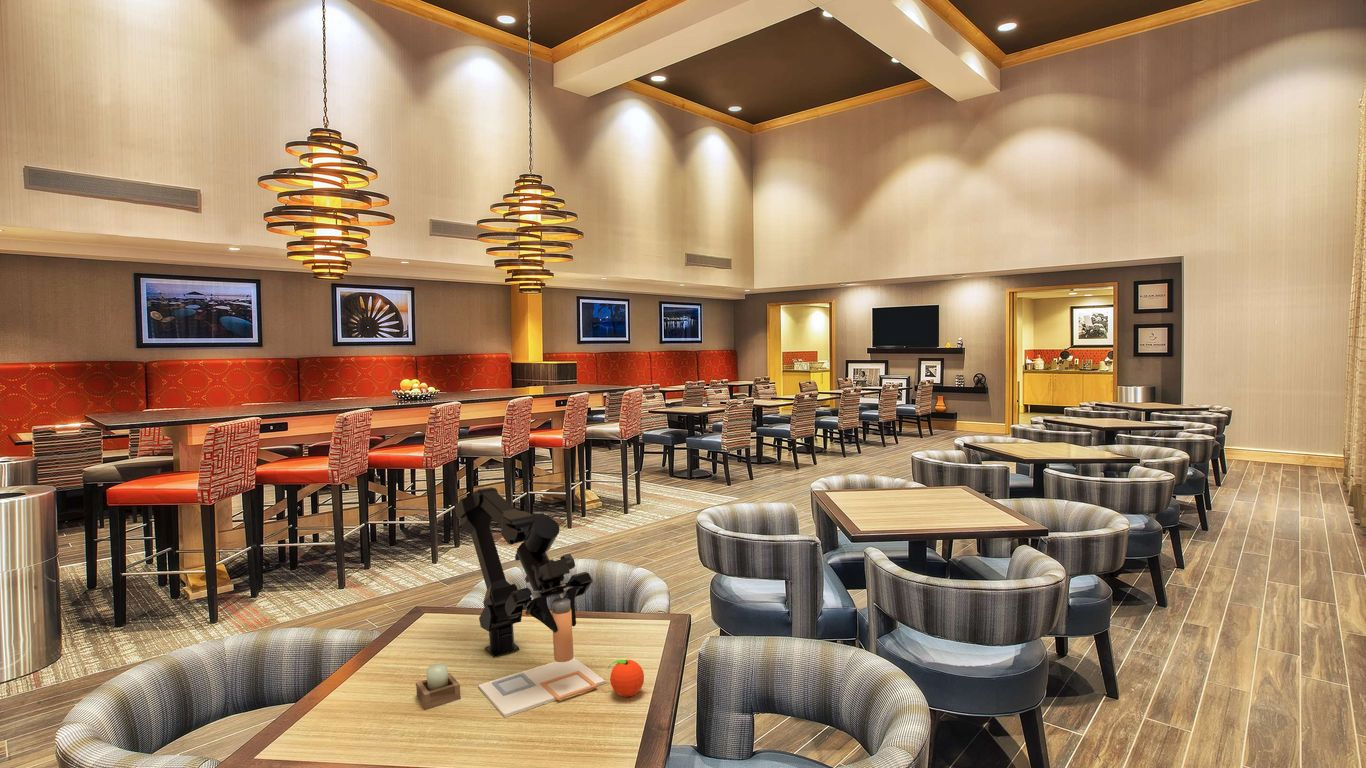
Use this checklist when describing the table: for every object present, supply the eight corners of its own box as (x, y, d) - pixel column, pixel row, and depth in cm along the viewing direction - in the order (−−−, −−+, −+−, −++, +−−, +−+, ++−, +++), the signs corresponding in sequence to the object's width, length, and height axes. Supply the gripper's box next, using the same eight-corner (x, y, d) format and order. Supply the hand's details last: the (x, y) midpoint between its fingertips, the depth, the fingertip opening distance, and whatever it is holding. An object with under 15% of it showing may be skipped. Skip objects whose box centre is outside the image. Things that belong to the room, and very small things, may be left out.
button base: (416, 696, 143) (416, 682, 143) (450, 686, 147) (450, 672, 147) (425, 709, 137) (424, 694, 137) (460, 698, 141) (459, 684, 141)
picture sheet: (478, 687, 145) (478, 683, 145) (572, 658, 158) (572, 654, 158) (507, 720, 131) (507, 716, 131) (608, 685, 144) (608, 681, 143)
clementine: (600, 699, 138) (598, 664, 138) (615, 684, 144) (614, 651, 144) (635, 705, 135) (634, 669, 135) (650, 689, 141) (648, 655, 141)
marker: (550, 660, 141) (547, 603, 141) (561, 652, 145) (558, 597, 145) (566, 663, 140) (564, 605, 139) (577, 655, 143) (574, 598, 143)
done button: (425, 686, 142) (424, 667, 142) (445, 680, 144) (444, 661, 144) (430, 693, 139) (429, 674, 139) (450, 687, 141) (449, 668, 141)
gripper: (508, 553, 139) (537, 621, 131) (586, 535, 151) (617, 596, 143) (493, 583, 145) (520, 649, 137) (569, 563, 157) (598, 623, 149)
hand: (565, 628), depth 141 cm, fingers closed on marker, 4 cm apart
